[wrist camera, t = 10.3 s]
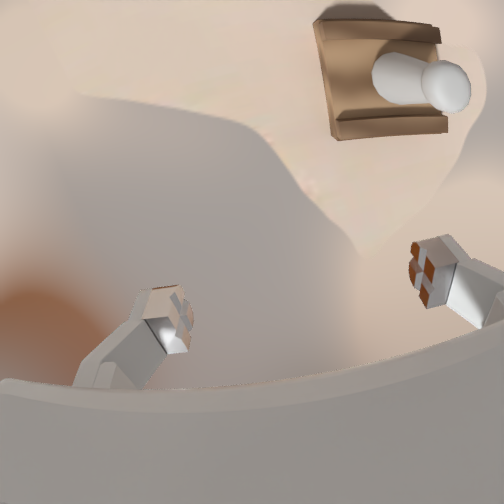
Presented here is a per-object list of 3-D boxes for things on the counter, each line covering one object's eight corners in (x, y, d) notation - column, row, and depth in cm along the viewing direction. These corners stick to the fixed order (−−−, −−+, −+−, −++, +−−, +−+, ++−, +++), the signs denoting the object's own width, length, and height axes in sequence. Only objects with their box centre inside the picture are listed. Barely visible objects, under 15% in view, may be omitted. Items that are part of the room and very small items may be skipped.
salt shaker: (412, 59, 25) (486, 66, 14) (408, 105, 28) (477, 132, 17) (365, 47, 25) (428, 41, 14) (362, 96, 28) (421, 115, 17)
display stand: (312, 23, 26) (321, 17, 22) (419, 26, 24) (438, 23, 21) (331, 135, 33) (341, 144, 30) (429, 128, 32) (448, 136, 28)
